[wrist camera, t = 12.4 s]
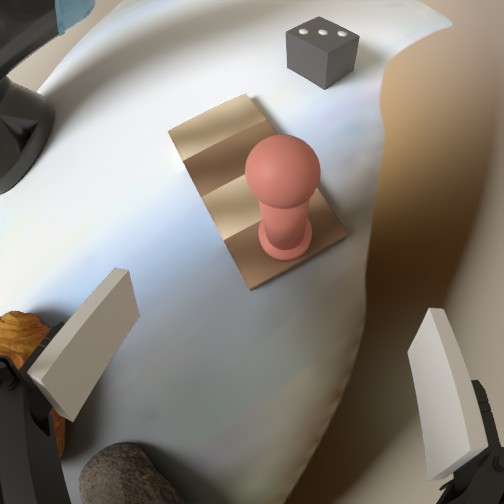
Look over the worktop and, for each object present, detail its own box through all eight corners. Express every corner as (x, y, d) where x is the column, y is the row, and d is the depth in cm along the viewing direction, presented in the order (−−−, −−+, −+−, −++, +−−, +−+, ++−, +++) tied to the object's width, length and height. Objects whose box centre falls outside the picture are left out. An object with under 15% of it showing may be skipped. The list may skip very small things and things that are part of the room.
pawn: (251, 228, 22) (219, 139, 11) (294, 204, 22) (296, 104, 12) (275, 271, 21) (263, 210, 10) (320, 245, 21) (347, 166, 11)
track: (170, 136, 26) (167, 131, 25) (246, 99, 26) (245, 93, 25) (250, 290, 22) (249, 288, 21) (345, 237, 22) (347, 234, 21)
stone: (109, 456, 22) (89, 536, 14) (79, 420, 18) (47, 523, 9) (204, 476, 23) (194, 563, 14) (198, 448, 18) (184, 568, 10)
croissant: (101, 339, 24) (46, 322, 17) (78, 482, 18) (28, 501, 11) (10, 301, 26) (-38, 278, 18) (-10, 420, 20) (-57, 417, 13)
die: (287, 68, 27) (285, 31, 22) (317, 50, 28) (318, 15, 23) (324, 90, 26) (328, 52, 21) (353, 71, 26) (359, 35, 21)
